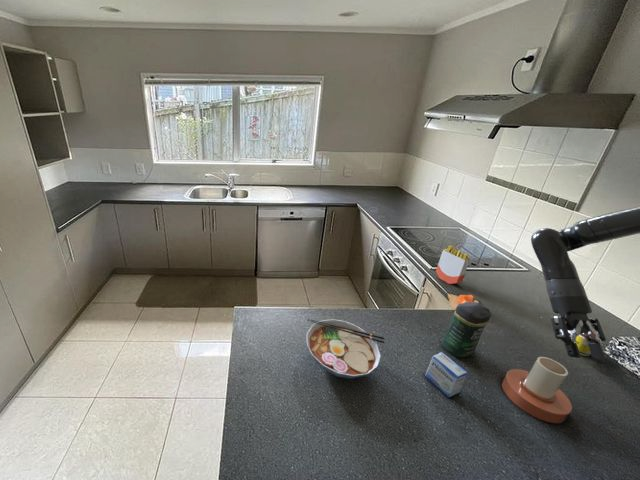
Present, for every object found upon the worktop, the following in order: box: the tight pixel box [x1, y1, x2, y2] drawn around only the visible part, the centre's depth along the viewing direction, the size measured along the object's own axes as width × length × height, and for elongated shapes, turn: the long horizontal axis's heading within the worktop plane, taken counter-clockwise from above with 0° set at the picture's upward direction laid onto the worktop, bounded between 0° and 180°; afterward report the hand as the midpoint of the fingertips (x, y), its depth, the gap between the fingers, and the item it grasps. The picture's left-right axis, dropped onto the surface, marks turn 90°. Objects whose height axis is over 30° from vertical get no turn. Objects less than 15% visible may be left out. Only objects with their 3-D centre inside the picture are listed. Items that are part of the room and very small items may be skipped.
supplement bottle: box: [574, 331, 599, 357], centre depth 98 cm, size 5×5×10 cm
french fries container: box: [435, 245, 471, 285], centre depth 136 cm, size 5×11×18 cm, turn 21°
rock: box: [447, 292, 480, 310], centre depth 121 cm, size 12×12×4 cm
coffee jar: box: [441, 301, 492, 358], centre depth 95 cm, size 10×8×19 cm
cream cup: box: [524, 356, 569, 399], centre depth 79 cm, size 6×6×9 cm
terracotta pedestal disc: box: [501, 368, 573, 424], centre depth 81 cm, size 14×14×4 cm
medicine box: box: [425, 352, 469, 398], centre depth 83 cm, size 8×4×9 cm, turn 23°
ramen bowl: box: [306, 318, 385, 379], centre depth 90 cm, size 25×23×8 cm
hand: (587, 357), depth 75 cm, fingers open, 8 cm apart
